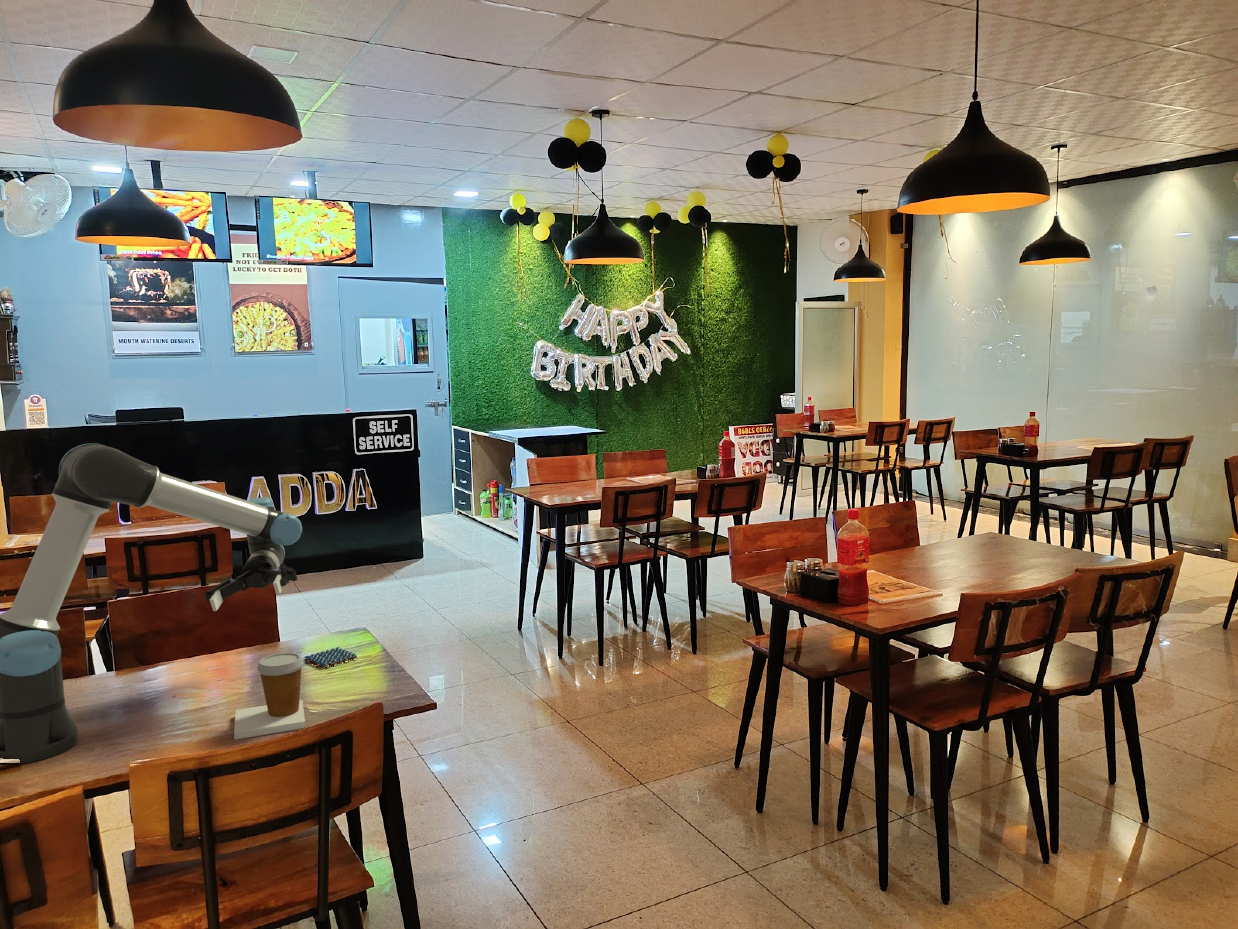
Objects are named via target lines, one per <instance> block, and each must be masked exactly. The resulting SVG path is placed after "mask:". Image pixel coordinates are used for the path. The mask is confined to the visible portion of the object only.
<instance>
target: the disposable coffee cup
mask: <svg viewBox="0 0 1238 929" xmlns="http://www.w3.org/2000/svg"><path fill="white" fill-rule="evenodd" d="M304 663H305V662H304V661H303V658H302V656H301V654H299V653H296V652H279V653H274V654H270V655H266V656H264V657H263V658H261V659H260V660H259V662H258V665H257V667H256V668H257V671H258V673H259V674H260V679H261V682H262V688H263V694H264V698H265V703H266V705H267V708H268V713H269V715H270V716H273V717H282V716H288V715H291V714H294V713H296V712H297V711H298V710H299V700H300V697H301V696H300V695H301V682H302V668H303V665H304Z"/></svg>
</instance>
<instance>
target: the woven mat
mask: <svg viewBox="0 0 1238 929" xmlns="http://www.w3.org/2000/svg"><path fill="white" fill-rule="evenodd" d="M357 658H358V655H357V654H356V653H353V652H350V651H349V650H346V649H343V648H340V647H339V646H337V647H335V648H331V649H326V650H324V651H319V652H315V653H313V654H309V655H306V656H305V657H304V659H303V658H302V660H303V661H305V662H304V663H306V664H308V665H310V664H313V665H314V666H313V665H312V666H313V667H315V665H316V667H315V668H317V667H319V668H318V669H320V668H324V669H327V668H328V669H330V668H331V667H330V666H332V665H337V664H341V663H342V662H343V663H344V662H345V661H348V662H349V660H350V661H352V660H351V659H356V660H357ZM328 665H329V666H328ZM337 666H338V665H337ZM325 667H327V668H325ZM332 667H333V666H332Z"/></svg>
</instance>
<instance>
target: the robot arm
mask: <svg viewBox="0 0 1238 929" xmlns="http://www.w3.org/2000/svg"><path fill="white" fill-rule="evenodd" d="M51 497H53V499H54V501H55V506H54V509H52V512H51V516H50V518H49V520H48V522H47V524H46V526H45V529H44V531H43V534H42V536H41V538H40V541H39V543H38V546H37V548H36V550H35V551H34V552H35V553H34V555H33V557H32V559H31V561H30V564H29V565H28V569H27V570H26V573H25V575H24V578H23V580H22V583H21V584H20V587H19V589H18V592H17V594H16V597H15V598H14V601H13V604H12V606H11V608H9V609H8V610H5V611H3V612H1V613H0V758H3V759H19V760H20V763H21V764H26V763H32V762H37V761H42V760H44V759H48V758H51V757H54V756H57V755H59V754H61V753H64V752H66V751H68V750H70V749H71V748H73V747H74V746H75V745H76V744H77V743H78V741H79V729H78V726H77V724H76V723H75V721H74V719H73V717H72V715H71V713H70V712H69V710H68V707H67V706H66V699H65V686H64V679H63V677H64V676H63V667H62V647H61V644H60V641H59V640H60V639H59V638H58V637H57V636H58V634H59V631H60V629H61V626H60V625H59V623H58V621H57V617H58V615H59V614H58V613H59V612H60V609H61V607H62V604H63V602H64V601H65V600H64V599H65V597H66V595H67V593H68V590H69V588H70V586H71V583H72V580H73V579H74V576H75V574H76V571H77V569H78V566H79V564H80V562H81V559H82V557H83V555H84V553H85V550H86V548H87V546H88V543H89V540H90V538H91V536H92V534H93V530H94V528H95V526H96V523H97V521H98V518H99V517H100V516H101V515H103V514H105V513H108V512H109V511H110V510H111V508H112V505H113V503H119V504H123V505H128V506H131V507H135V508H144V507H146V506H149V507H153V508H156V509H159V510H162V511H163V510H164V511H167V512H170V513H173V514H176V515H179V516H183V517H187V518H190V519H193V520H197V521H201V522H204V523H208V524H210V525H214V526H218V527H221V528H224V529H228V530H231V531H236V532H238V533H242V534H244V535H246V539H247V545H248V549H249V555H250V556H249V558H248V559H247V560H246V563H245V564H244V565H243V568H242V571H241V574H240V575H238V576H236V577H235V578H232V577H231V576H228V577H227V578H225V580H224V581H222V582H220V583H218V584H217V585H215V586H213V587H212V588H210V589H208V590H207V591H204V592H203V593H204V595H203V596H204V598H205V599H206V603H207V604H210V605H211V608H212V611H213V612H216V611H218V609H219V608H220V607H221V605H222V603H223V602H224V599H226V598H228V597H230V596H232V595H233V594H236V593H237V592H244V591H246V590H248V589H252V588H254V589H263V588H266V587H268V586H269V585H271V584H272V585H273V588H274V591H275V594H276V596H277V595H280V594H281V592H282V590H283V588H284V587H285V586H288V584H289V583H290V581H291V582H296V581H298V576H297V572H296V570H295V569H293V568H292V567H289V566H286V564H285V563H284V561H285V560H284V559H285V556H286V552H285V548H284V546H290V545H293V544H295V543H296V542H298V540H300V538H301V535H302V532H303V526H302V522H301V520H300V519H299V518H298V517H297V516H295V515H293V514H292V513H288V512H283V511H280V510H277V509H276V507H275V505H274V502H273V498H270V497H268V496H267V497H265V496H263V497H262V496H261V497H256V498H251V499H248V500H246V499H242V498H240V497H236V496H234V495H230V494H229V493H228V494H227V493H225V492H221V491H219V490H214V489H212V488H209V487H205V486H203V485H199V484H196V483H193V482H190V481H187V480H184V479H181V478H179V477H175V476H171V475H169V474H166V473H162V472H161V471H160V469H159V468H158V466H157V465H152V464H149V463H147V462H145V461H142V460H140V459H138V458H135V457H133V456H131V455H129V454H127V453H125V452H123V451H121V450H120V449H117V448H114V447H111V446H107V445H104V444H101V443H97V442H95V443H84V444H80V445H78V446H75V447H73V448H71V449H70V450H68V451H67V452H66V453H65V454H64V455H63V457H62V458H61V460H60V462H59V467H58V479H57V481H56V484H55V486H54V488H53V491H52V493H51ZM67 749H68V750H67ZM58 753H59V754H58ZM56 754H57V755H56ZM50 756H51V757H50Z"/></svg>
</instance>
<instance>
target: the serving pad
mask: <svg viewBox="0 0 1238 929" xmlns="http://www.w3.org/2000/svg"><path fill="white" fill-rule="evenodd" d="M305 718H306V717H305V710H304V702H303V699H299V710H298V711H297V712H296V713H294V714H291V715H288V716H282V717H273V716H270V715H269V713H268V708H267V704H266V705H260V706H252V707H246V708H240V709H236V710H235V716H234V729H233V731H234V732H233V733H234V734H233V737H234V740H241V739H246V738H252V737H257V736H265V735H270V734H276V733H283V732H289V731H295V730H302V729H305V728H306V719H305ZM304 727H305V728H304ZM301 728H302V729H301Z"/></svg>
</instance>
